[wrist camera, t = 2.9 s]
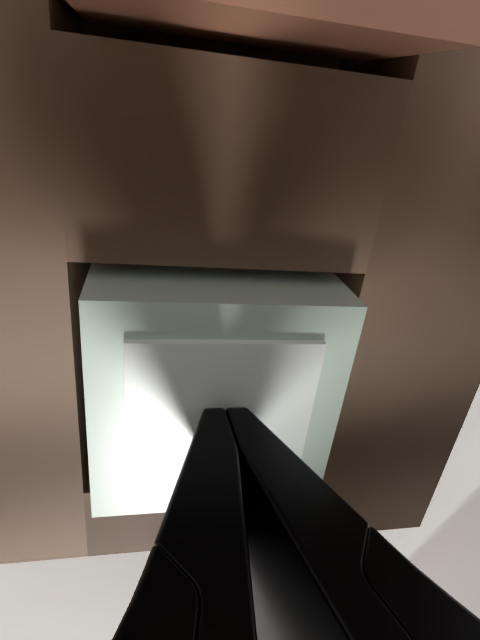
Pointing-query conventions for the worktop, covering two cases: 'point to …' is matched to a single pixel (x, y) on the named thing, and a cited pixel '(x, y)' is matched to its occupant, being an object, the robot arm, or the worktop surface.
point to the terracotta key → (304, 23)
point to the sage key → (206, 367)
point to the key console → (232, 240)
